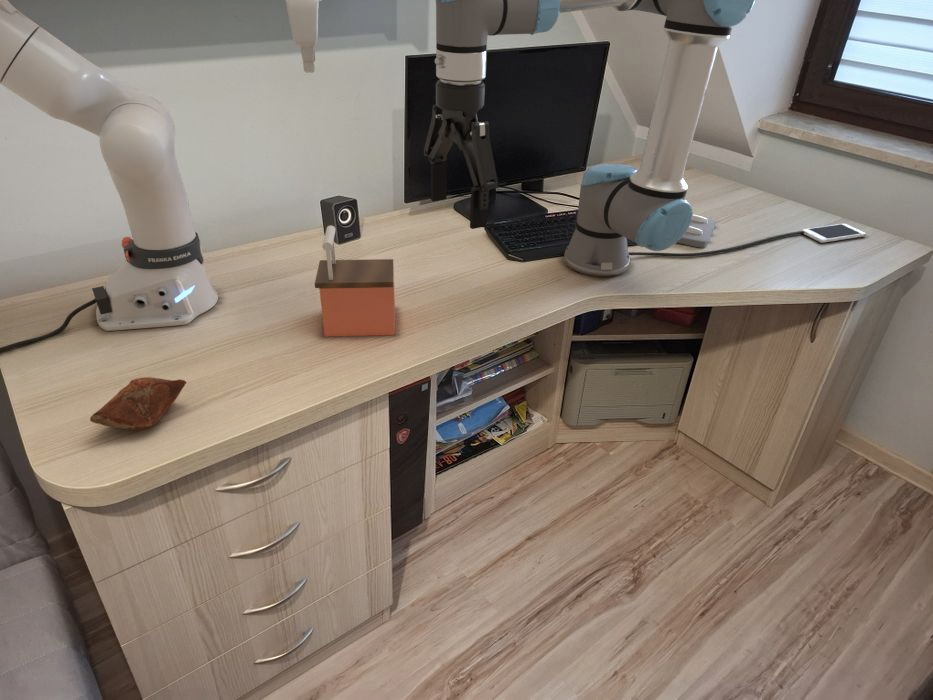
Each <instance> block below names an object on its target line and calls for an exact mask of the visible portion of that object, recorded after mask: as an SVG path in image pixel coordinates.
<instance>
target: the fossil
mask: <svg viewBox="0 0 933 700" xmlns="http://www.w3.org/2000/svg"><path fill="white" fill-rule="evenodd" d="M187 382H188V381H186V380H185V379H179V378H178V379H174V380H173V379H164V378H158V377H150V376H147V377H145V376H144V377H139V378H134V379H131V380H130V381H129V383H128V384H127V385H126V386H124V387H123V388H122V389H120V390H119V391H118V392H117V393H116V394H115V395H114V396H113V397H112V398H111V399H110V400H108V401H107V403H105V404H104V405H103V406H102V407H101V408H99V409H98V410H97V411H95V412H94V413H93V414H92V415H91V416H90V418H89V421H90V422H92V423H94V424H97V425H101V426H104V427H110V428H115V429H124V430H130V431H131V430H145V429H148V428H150V427H152V426H154V425H156V424H157V423H158V422H159V421H160V420H161V418H162V417H163V416H164V415H165V414H166V413H167V412H168V410H169V409H170V408H171V407H172V405H173V404H174V402H175V401H176V400H177V398H178V397H179V395H180V393H181V392H182V391H183V389H184V387H185V386H186V384H187Z"/></svg>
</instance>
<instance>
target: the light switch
mask: <svg viewBox="0 0 933 700" xmlns="http://www.w3.org/2000/svg"><path fill="white" fill-rule="evenodd" d="M715 225H716V219H715V218H712V217H707V216H702V215H697V214H693V216H692V221H691V223H690V226H689V228H688V229H687V231H686V233H685V234H684V235H683V237H682V238H681V239H680V240H678V241H677V242H676V243H675V244H679V245H680V244H681V245H685V246H691V247H695V248H699V249H700V248H702V249H704V248H706V247H707V246H708V243H709V240H710V238H711V237H712V233H713V230H714V229H715Z"/></svg>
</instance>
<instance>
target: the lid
mask: <svg viewBox="0 0 933 700" xmlns="http://www.w3.org/2000/svg"><path fill="white" fill-rule="evenodd" d="M336 230H337V229H336V227H335V226H334V225H333V224H332V225H328V226H327V227H326V230H325V234H324V239H323V241H322V242H323V243H322V248H323V250H324V251H325V254H326V260H325V259H320V260H319V261H318V267H317V271H316V275H315V280H314V289H319V288H356V287H393V266H394V259H393V258H389V259H388V258H384V259H383V258H382V259H381V258H379V259H375V258H374V259H336V247H335V235H336Z"/></svg>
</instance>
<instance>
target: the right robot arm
mask: <svg viewBox="0 0 933 700" xmlns="http://www.w3.org/2000/svg"><path fill="white" fill-rule="evenodd" d="M755 2H756V0H435V43H436V44H435V45H436V46H435V48H436V50H435V51H436V54H435V55H436V56H435V57H436V58H435V59H434V64H435V65H436V66H435V75H436V77H437V78H438V80H437V81H436V82H435V104H433V105H432V110H431V119H430V124H429V128H428V131H427V132H428V133H427V136H426V141H425V144H424V148H423V156H424V157H428V162H429V163H430V201H431V202H433V203H434V202H439V201H445V200H447V185H448V183H447V181H448V180H447V179H448V178H447V176H448V175H447V173H448V164H447V162H445V161H448V157H447V155H448V153H449V152H450V150H451V148H452V147H453V144H456V145H457V146H458V149H459V151H462V152H463V156H464V159H465V162H466V165H467V168H468V172H469V174H470V177H471V181H472V184H473V187H471V188H470V214H469V215H470V216H469V228H470V229H471V230H474V229H475V230H476V229H481V228H485V227H487V223H488V222H487V221H488V208H489V198H490V197H489V195H490V190H494V189H498V188H499V180H498V175H497V170H496V164H495V159H494V153H493V149H492V143H491V138H490V123H489V121H478V112H479V110H481V109H483V107H484V106H485V95H486V84H485V82H484V81H483V80H485V78H486V76H487V75H486V74H487V49H488V48H487V47H488V36H490V37H493V36H500V35H501V36H505V35H531V36H534V35H536V34H542V33H546V32H548V31H550V30H552V28H554V27H555V25H556V23H557V21H558V20H559V19H558V18H559V16H560V14H561V13H570V12H571V13H572V12H577V11H586V10H594V9H595V10H596V9H602V8H609V7H612V8H613V9H614V10H616V11H618V12H627V11H638V12H645V13H649V14H655V15H660V16H665V21H664V24H663V25H664V26H663V30H664V32H665V34H666V36H667V37H668V41H669V43H668V46H667V50H666V55H665V58H664V63H663V68H662V72H661V76H660V80H659V85H658V89H657V93H656V97H655V102H654V106H653V110H652V115H651V119H650V123H649V128H648V132H647V136H646V140H645V145H644V149H643V153H642V157H641V162H640V166H639V169H637V168H636V167H635V166H632V165H628V164H621V163H603V164H602V163H601V164H596V165H592V166H589V167H587V168H586V169H585V170H584V172H583V175H582V179H581V183H580V190H579V199H578V207H577V215H576V223H575V224H576V225H575V230H574V232H573V233H572V236H571V239H570V241H569V244H568V245H567V246H566V248H565V251H564V255H563V262H564V263H565V265H566V266H567V267H568V268H570V269H571V270H572V271H575V272H576V273H579V274H582V275H586V276H591V277H601V278H602V277H607V278H608V277H615V276H618V275H621V274H623V273H625V272H626V271H627V270H628V269H629V265H630V259H631V258H630V256H656V257H657V256H659V257H697V256H706V255H713V254H720V253H724V252H725V253H726V252H729V251H735V250H739V249H743V248H747V247H750V246H754V245H757V244H758V245H759V244H761V243H766V242H769V241H771V240H776V239H779V238H780V239H781V238H784V237H789V236H796V235H802V234H803V233H804V231H802V230H799V231H793V232H787V233H782V234H778V235H774V236H770V237H765V238H763V239H759V240H755V241H752V242H748V243H744V244H740V245H735V246H732V247H731V246H730V247H727V248H722V249H716V250H715V249H714V250H709V251H702V252H690V253H689V252H685V253H684V252H683V253H682V252H679V253H677V252H675V253H673V252H662V251H665V250H668V249H670V248H672V247H673V246H674V245H675V244H677V243H676V242H677V241H678V240H680V239H681V238H682V237H683V235H684V234H685V233H686V231H687V229H688V228H689V226H690V223H691V221H692V216H693V215H694V214H693V213H694V210H693V208H692V205H691V204H690V202H688V200H686V195H687V191H688V189H689V187H688V184H687V182H686V181H685V179H684V174H685V169H686V166H687V162H688V159H689V155H690V150H691V148H692V144H693V140H694V136H695V133H696V129H697V125H698V122H699V118H700V114H701V111H702V107H703V103H704V100H705V96H706V92H707V88H708V84H709V81H710V78H711V73H712V70H713V67H714V63H715V59H716V56H717V55H716V54H717V51H718V49H719V47H720V45H722V44H723V43H724V42H725V41H727V40H728V39H729V38H730V37H731V33H732V29H733V27H735V26H737V25H739V24H741V23H742V22H743V21H744V20H745V19H746V18H747V15H748V14H750V13H751V11H752V9H753V7H754V5H755ZM803 235H804V234H803ZM628 240H629V241H631V242H633V243H634V244H636V245H637V246H639V247H641V248H645V249H646V250H647V249H648V250H649V251H652V252H648V251H647V252H644V251H643V252H639V251H636V252H635V251H629V245H628Z"/></svg>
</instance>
